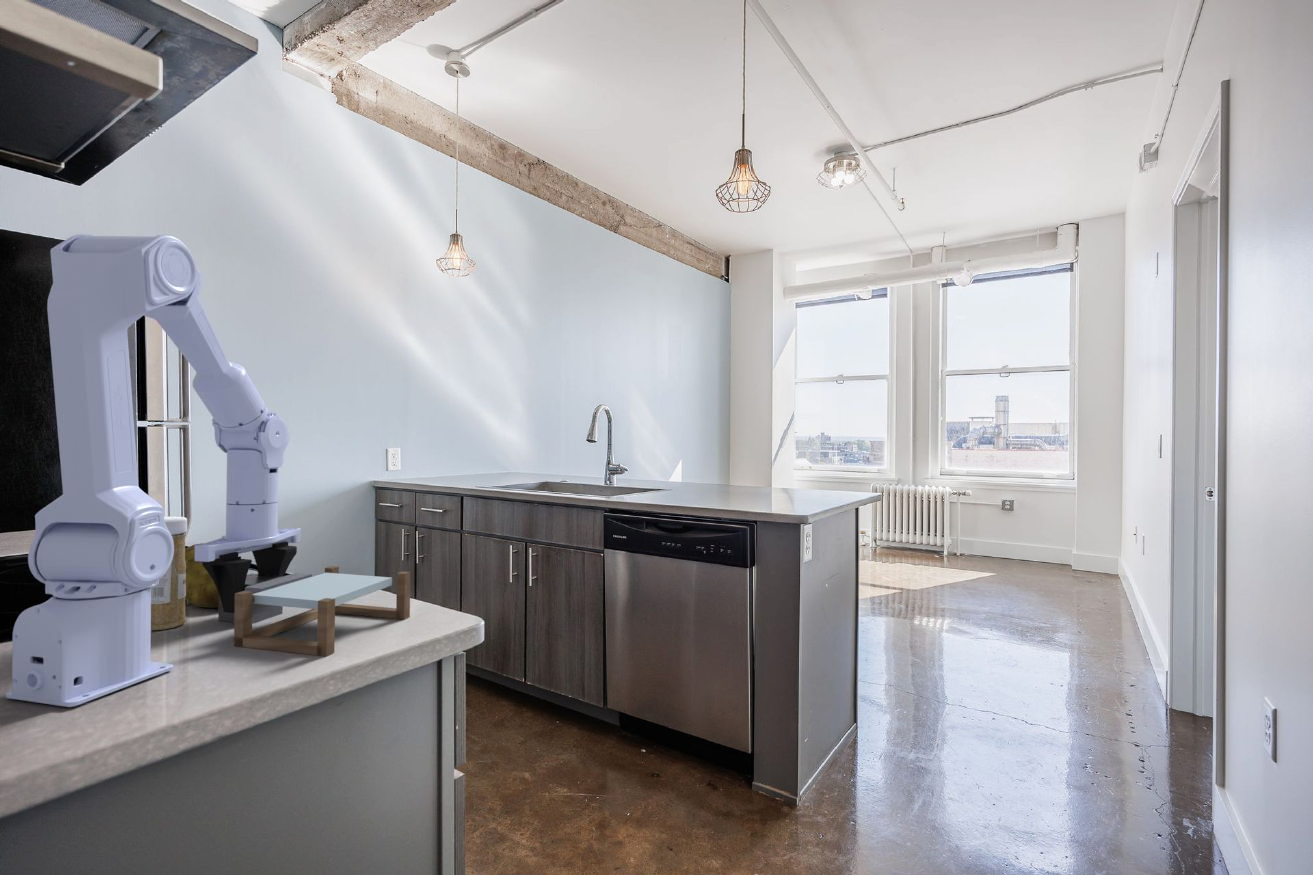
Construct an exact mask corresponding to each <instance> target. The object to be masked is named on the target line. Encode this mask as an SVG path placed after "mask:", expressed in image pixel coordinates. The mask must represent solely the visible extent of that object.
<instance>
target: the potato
mask: <svg viewBox="0 0 1313 875" xmlns="http://www.w3.org/2000/svg"><path fill="white" fill-rule="evenodd" d="M203 543H204V542H202V543H196V544H192V545H190V546H188V547H185V563H186V596H185V601H187V602H188V603H189V604H192V605H193V606H195V607H199V608H212V609H213V608H219V593H218V590H217V588H216V586H215V583H214V581H213V580H212V578H211V576H210V575H209V573H208V572H207V570H206V569H205V568H204V567H203V565H202V561H195V545H199V544H203Z"/></svg>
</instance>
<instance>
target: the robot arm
mask: <svg viewBox="0 0 1313 875" xmlns="http://www.w3.org/2000/svg"><path fill="white" fill-rule="evenodd" d="M50 261H51V271H52V273H51V274H52V285H51V288H50V291H49V294H48V297H47V321H48V329H49V330H48V332H49V343H50V345H49V346H50V353H51V354H50V355H51V365H52V366H51V367H52V378H53V390H54V391H53V392H54V402H55V413H56V426H57V438H58V449H59V450H58V451H59V459H60V472H61V484H62V485H61V486H62V495H60V496H59V497H57V498H56V499H54V500H53V501H52V502H50V503H48V504H47V505H46V506H45V507H43V508H41V509H40V510H38V512H37V513H36V514H35V515H34V518H35V531H34V537H33V539H32V541H31V543H30V546H29V549H28V554H27V555H28V556H27V562H28V568H29V570H30V572H31V574H32V575H33V577H34V578H35V579H36V580H38V582H40V583H42V584H44V586H45V587H44V590H45V594H46V595H52V596H51V597H50V598H49V599H48V600H46V601H45V602H42V603H40V604H37V605H33V606H31V607H28V608H26V609H24V610H23V611H22V612H21V613H20V614H19V615H18V617H17V619H16V621H15V623H14V626H13V630H12V653H11V654H12V658H11V660H12V664H11V665H12V666H11V667H12V668H11V669H12V670H11V671H12V672H11V673H12V674H11V675H12V676H11V677H12V679H11V680H12V681H11V690H10V691H7V692H6V693H5V698H6V699H11V700H19V701H26V702H31V703H40V704H46V705H50V706H51V705H53V706H58V707H67V708H72V707H76V706H79V705H82V704H85V703H88V702H90V701H93V700H95V699H98V698H100V697H103V696H106V695H108V694H111V693H113V692H116V691H119V690H121V689H124V688H128V687H130V686H132V685H134V684H137V683H140V682H143V681H146V680H148V679H150V678H154V677H156V676H160V675H162V674H164V673H166V672H167V673H168V672H169V671H172V670H173V669H174V664H172V663H164V662H156V661H151V648H152V647H151V644H152V642H151V641H152V640H151V639H152V638H151V637H152V635H151V634H152V633H151V632H152V631H151V587H153V586H156V585H158V584H159V579H161V578H162V577H163V575H164V574H165V573H166V571H167V570H168V568H169V566H170V564H171V562H172V559H173V555H174V543H173V538H172V536H171V533H170V532H169V530H168V528H167V526H166V524H165V520H164V517H165V513H164V512H165V511H164V507H163V506H162V505H161V504H160V503H158V501H157V500H155V499H154V498H152V497H151V496H150V495H149V494H147V493H146V492H144V491H143V490H142V489H141V488H140V487H139V478H138V477H139V476H138V462H137V461H138V460H137V449H136V448H137V447H136V434H135V432H136V431H135V422H134V421H135V419H134V407H133V406H134V405H133V404H134V403H133V395H132V394H133V393H132V379H131V366H130V365H131V364H130V350H129V349H130V348H129V338H128V337H129V336H128V329H129V327H131V326H132V325H133V324H135V322H137V321H138V320H140V319H141V318H142V317H143V316H144V317H147V318H150V319H152V320H155V321H156V322H157V323H158V325H159V326H160V328H162V330H163V331H164V332H165V334H166V335H167V336H168V337H169V339H170V340H171V341H172V343H173V345H174V346H175V347H177V349H178V350H179V352H180V353H181V354H182V355H183V357H184V358H185V359H186V360H187V362H188V364H190V366H191V367H192V369H193V370H194V371H195V372H196V373H195V374H194V375H195V376H194V377H193V380H192V387H193V388H192V389H194V391H195V392H196V394H197V396H198V397H199V399H200V400H201V402H202V403H203V404H204V406H205V408H206V410H208V412H209V413H210V415H211V417H212V419H211V422H212V426H213V429H214V439H215V440H214V441H215V443H216V446H217V447H218V448H219V450H221V451H222V452H223V453H225V454H226V500H225V501H226V504H225V505H226V506H225V507H226V509H225V534H222V535H221V537H220V538H217V539H214V540H210V541H208V542H202V543H203V544H201V543H198V544H199V545H195V544H194V545H195V561H202V565H203V567H204V568H205V569H206V570H207V572H208V573H209V575H210V576H211V578H212V580H213V581H214V583H215V586H216V588H217V590H218V593H219V596H220V599H221V602H222V606H223V610H224V612H228V613H235V593H238V592H242V591H244V587H245V581H246V577H247V575H248V572H249V570H250V567H251V565H252V563H253V560H252V559H250V558H249V559H248V558H242V556H241V554H245V553H250V552H252V555H253V558H254V562H255V564H256V569H257V574H263V575H275V576H286V573H287V570H288V568H289V566H290V564H291V562H292V561H293V560H294V558H295V556H296V555H297V554H298V552H297V551H298V548H297V546H296V545H289V544H296V543H300V542H301V541H302V540H301V538H302V536H301V535H302V533H301V532H302V529H301V528H298V527H297V528H295V527H285V528H281V529H278V528H279V526H278V523H279V508H278V507H279V468H281V467H282V466H283V464H284V455H285V451H286V449H287V447H288V445H289V440H290V432H289V431H288V430H289V429H288V426H287V423H286V421H285V419H284V418H283V417H282V416H280V415H278V414H277V413H275V412H273V411H269V409H268V407H267V405H266V403H265V402H264V399H263V398H262V397H261V394H260V393H259V392H258V390H257V387H256V386H255V384H254V383H253V381H252V379H251V377H250V375H249V374H248V371H247V370H246V369H245V367H244V366H243V365H241V364H239V363H236V362H232V361H229V360H228V358H227V356H226V354H225V352H224V349H223V347H222V345H221V342H220V340H219V338H218V337H217V334H216V332H215V330H214V328H213V326H212V324H211V321H210V319H209V317H208V315H207V313H206V311H205V309H204V307H203V305H202V302H201V300H200V298H199V296H200V293H201V290H202V282H203V274H202V273H201V272H200V270H199V269H198V267H197V262H196V261H195V258H194V256H193V255H192V252H191V251H190V249H189V248H188V247H187V245H185V243H183V241H182V240H180V239H178V238H177V237H175V236H172V235H168V234H161V235H159V234H157V235H154V236H153V235H152V236H148V235H147V236H145V235H144V236H143V235H142V236H141V235H93V234H87V233H86V234H85V233H83V234H82V233H80V234H76V235H72V236H70V237H68V238H66V239H64V240H63V241H61V242H60V243H59V244H56V245H55V246H54V247H52V248H50ZM239 555H240V556H239Z"/></svg>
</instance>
